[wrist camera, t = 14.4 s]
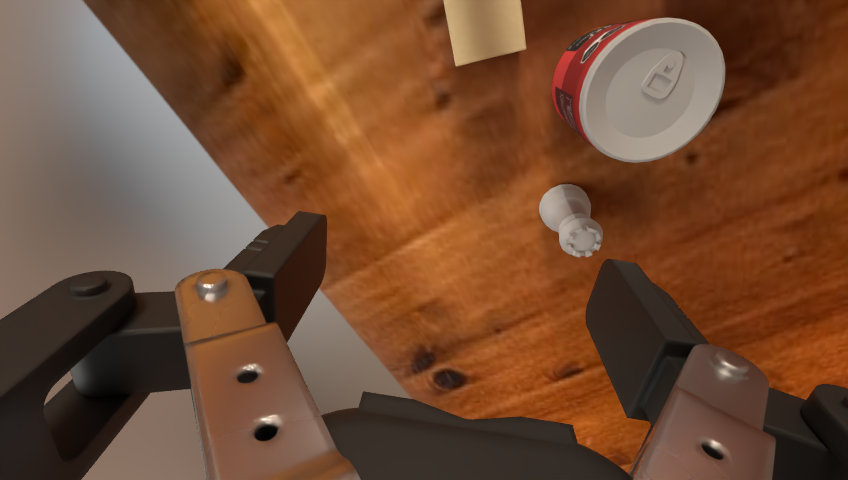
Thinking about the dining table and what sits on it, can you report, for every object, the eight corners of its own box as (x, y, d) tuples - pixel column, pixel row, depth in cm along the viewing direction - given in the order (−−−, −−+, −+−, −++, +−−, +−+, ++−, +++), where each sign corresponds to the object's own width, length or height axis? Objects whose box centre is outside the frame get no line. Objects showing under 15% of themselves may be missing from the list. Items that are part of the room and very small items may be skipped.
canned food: (665, 31, 32) (753, 26, 22) (629, 136, 35) (691, 173, 25) (564, 18, 32) (606, 7, 22) (539, 123, 35) (565, 154, 25)
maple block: (457, 63, 34) (455, 66, 30) (445, -5, 32) (441, -13, 28) (519, 48, 33) (526, 49, 29) (510, -23, 31) (516, -34, 27)
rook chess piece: (534, 189, 38) (548, 223, 31) (584, 176, 37) (611, 208, 30) (542, 232, 40) (558, 273, 32) (591, 221, 39) (618, 262, 31)
